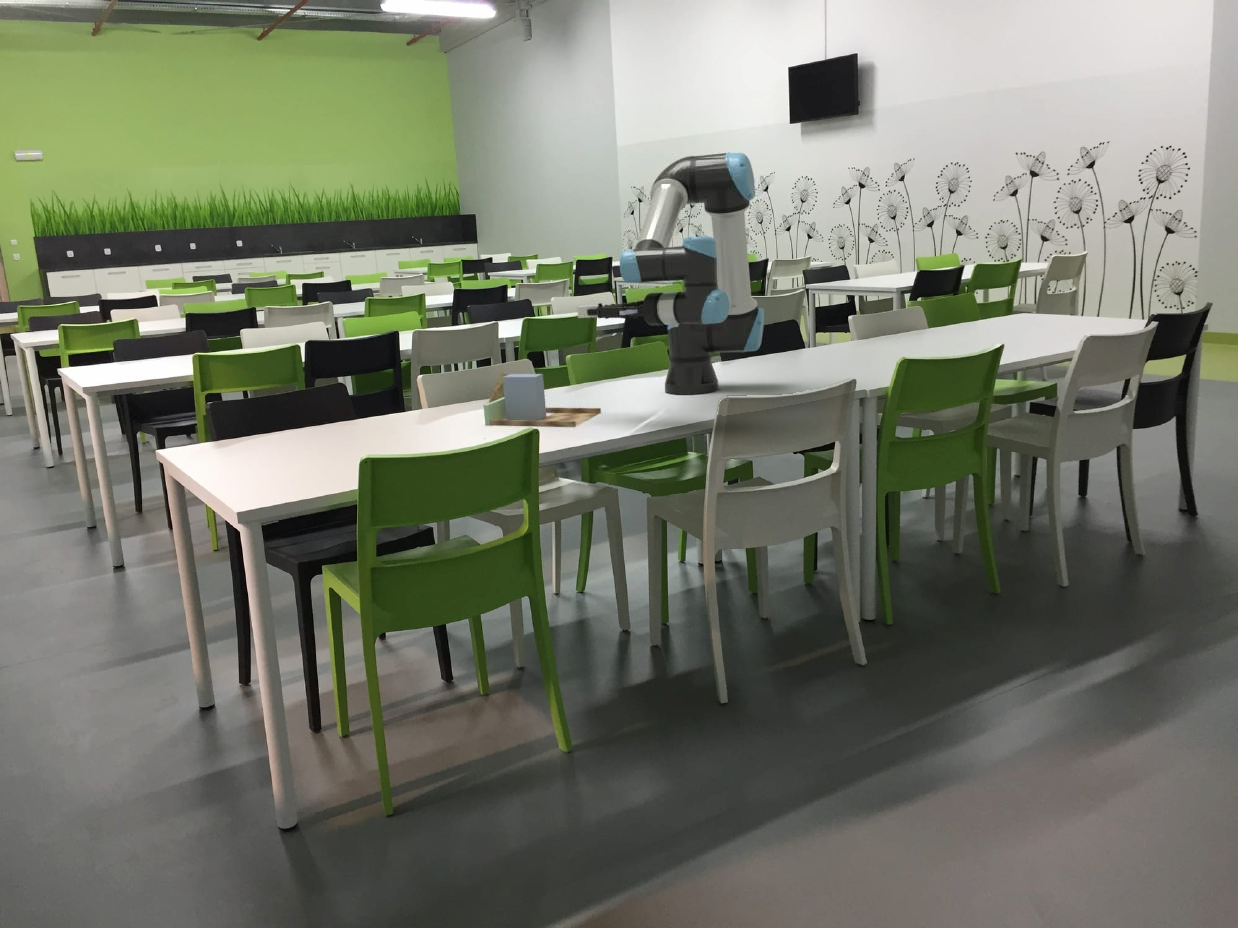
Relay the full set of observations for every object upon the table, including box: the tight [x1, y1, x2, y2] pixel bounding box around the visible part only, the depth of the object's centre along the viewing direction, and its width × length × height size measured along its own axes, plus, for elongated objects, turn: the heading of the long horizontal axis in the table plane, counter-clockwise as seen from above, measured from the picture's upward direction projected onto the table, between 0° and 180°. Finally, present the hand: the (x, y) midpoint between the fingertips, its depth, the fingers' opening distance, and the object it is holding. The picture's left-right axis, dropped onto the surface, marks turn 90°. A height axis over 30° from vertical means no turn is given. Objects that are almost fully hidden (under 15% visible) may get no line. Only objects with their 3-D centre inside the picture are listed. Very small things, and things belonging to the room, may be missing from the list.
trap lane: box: [489, 407, 602, 428], centre depth 250 cm, size 23×17×2 cm
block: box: [503, 373, 547, 421], centre depth 250 cm, size 9×4×11 cm, turn 69°
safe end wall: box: [483, 397, 506, 426], centre depth 254 cm, size 1×17×6 cm, turn 158°
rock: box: [488, 373, 508, 403], centre depth 268 cm, size 11×9×10 cm
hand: (579, 312), depth 244 cm, fingers closed
